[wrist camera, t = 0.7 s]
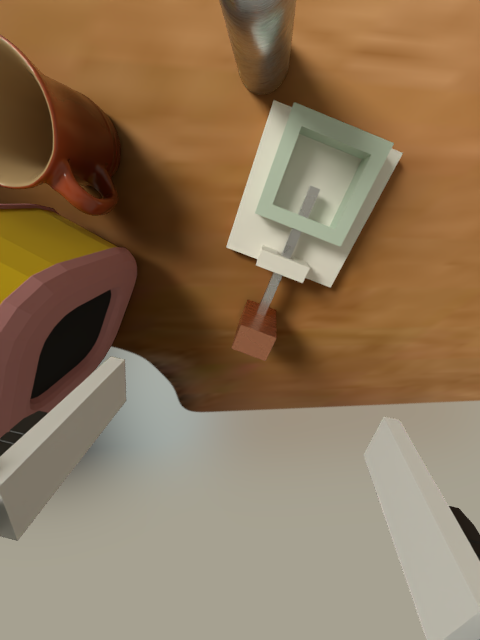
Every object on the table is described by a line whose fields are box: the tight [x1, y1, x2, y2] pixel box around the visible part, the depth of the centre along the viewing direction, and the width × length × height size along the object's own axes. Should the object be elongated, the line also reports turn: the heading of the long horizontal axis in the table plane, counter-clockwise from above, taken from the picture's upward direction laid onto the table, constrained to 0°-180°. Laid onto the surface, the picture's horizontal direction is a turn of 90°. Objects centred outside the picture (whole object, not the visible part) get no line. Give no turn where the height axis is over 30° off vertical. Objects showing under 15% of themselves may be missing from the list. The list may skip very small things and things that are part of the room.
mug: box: [0, 35, 121, 216], centre depth 22 cm, size 12×9×10 cm
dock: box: [226, 100, 403, 288], centre depth 24 cm, size 12×13×4 cm
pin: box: [232, 186, 320, 361], centre depth 25 cm, size 4×16×7 cm, turn 160°
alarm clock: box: [0, 204, 137, 438], centre depth 24 cm, size 18×11×19 cm, turn 152°
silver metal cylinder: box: [219, 0, 296, 95], centre depth 15 cm, size 4×4×15 cm
